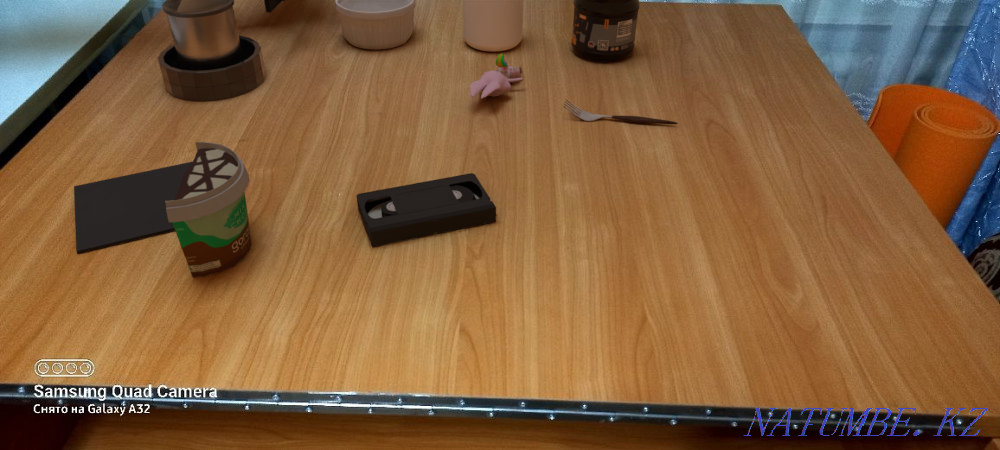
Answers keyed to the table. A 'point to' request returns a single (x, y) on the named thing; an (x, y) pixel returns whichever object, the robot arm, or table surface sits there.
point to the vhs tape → (424, 209)
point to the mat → (125, 207)
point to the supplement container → (604, 29)
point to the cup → (492, 24)
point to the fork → (591, 117)
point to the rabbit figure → (496, 79)
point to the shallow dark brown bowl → (214, 75)
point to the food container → (212, 211)
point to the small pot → (204, 33)
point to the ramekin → (376, 22)
